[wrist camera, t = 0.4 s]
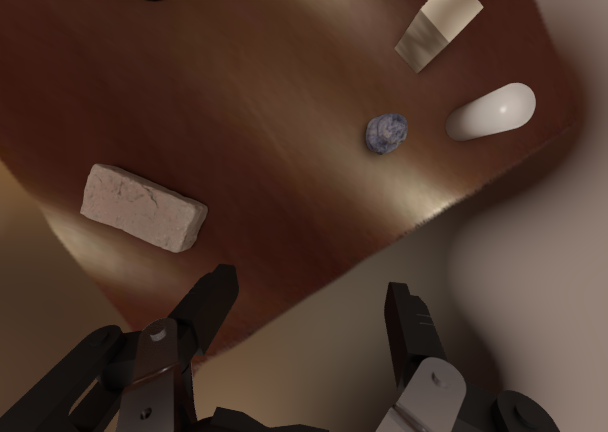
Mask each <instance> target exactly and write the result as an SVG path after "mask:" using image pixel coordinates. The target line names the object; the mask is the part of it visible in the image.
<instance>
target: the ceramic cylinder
mask: <svg viewBox="0 0 608 432" xmlns="http://www.w3.org/2000/svg"><path fill="white" fill-rule="evenodd" d="M534 109H535V96H534V93H533V92H532V90H531V89H530V88H529V87H528V86H526V85H524V84H521V83H512V84H509V85H506V86H504V87H502V88H500V89H498V90H496V91H494V92H492V93H489V94H487V95H485V96H483V97H481V98H479V99H477V100H475V101H473V102H470V103H468V104H466V105H464V106H462V107H460V108H458V109H456V110H454V111H453V112H452V113H451V114H450V115H449V116H448V118H447V120H446V132H447V134H448V136H449V137H450V138H451V139H453V140H455V141H466V140H470V139H474V138H478V137H482V136H486V135H490V134H494V133H498V132H502V131H506V130H510V129H514V128H518V127H520V126H522V125H524V124H525V123H526V122H527V121H528V120H529V119H530V118H531V116H532V114H533V112H534Z"/></svg>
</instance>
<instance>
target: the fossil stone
mask: <svg viewBox="0 0 608 432" xmlns="http://www.w3.org/2000/svg"><path fill="white" fill-rule="evenodd" d="M367 127H368V128H367V130H366V137H365V138H366V144H367V146H368V148H369V149H370V150H371V151H375V152H377V151H378V154H379V155H382V154H383V153H389V152H391V151H393V150H394V149H396V148H397V147H398V146H399V145H400V143H402V142H403V140H405V138H406V135H407V127H408V126H407V121H406V119H405V118H404V116H402V115H399V114H397V113H390V114H387V113H386V114H385V115H382V116H377V117H375V118H373V119H372V120H371V121H370V122H369V124H368V126H367Z"/></svg>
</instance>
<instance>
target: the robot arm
mask: <svg viewBox="0 0 608 432" xmlns="http://www.w3.org/2000/svg"><path fill="white" fill-rule="evenodd" d="M238 293H239V285H238V279H237V273H236V268H235V266H234V265H226V264H219V265H218V266H217V267H216V269H215V270H214V271H213V272H212V273H210V272H209V273H208V274H206V275H205V276H203V277H202V278H200V279H199V280H198V282H197V283H196V284H195V285H194V287H192V289H191V290H190V291H189V293H188V294H187V295H186V296H185V297H184V298H183V299H182V300H181V302H180V303H179V304H178V305H177V306H176V307H175V309H174V310H173V311H172V312H171V313H170V315H169V316H168V317H167V318H162V319H158V320H156V321H154V322H152V323H151V324H149V325H148V326H147V327H145V328H144V330H142V331H135V332H129V333H123V332H122V331H121V329H120V327H119V326H116V325H108V326H105V327H102V328H99V329H97V330H95V331H94V332H92V333H91V334H89V335H88V336H87V337H85V338H84V339H83V340H82V341H81V342H80V343H79V344H78V345H77V346H76V347H75V348H74V349H73V350H72V351H70V353H68V354H67V355H66V356H65V357H64V358H63V359H62V360H61V361H60V362H59V363H58V364H57V365H56V366H55V367H54V368H52V369H51V370H50V371H49V372H48V373H47V374H46V375H45V376H44V377H43V378H42V379H41V380H40V381H39V382H38V383H37V384H36V385H34V386H33V387H32V388H31V389H30V390H29V391H28V392H27V393H26V394H25V395H24V396H23V397H22V398H21V399H20V400H19V401H18V402H16V403H15V404H14V405H13V406H12V407H11V408H10V409H9V410H8V411H7V412H6V413H5V414H4V415H3V416H2V417H1V418H0V432H104V430H105V429H106V427H107V426H108V424H109V423H110V422H111V420H112V419H113V417H114V416H115V414H116V413H117V412H118V410H119V409H120V410H119V416H118V422H117V428H116V432H329V430H325V429H320V428H316V427H311V426H306V425H301V424H298V425H289V426H281V427H273V428H269V427H266V426H264V425H263V424H261V423H260V422H258V421H256V420H255V419H253V418H251V417H250V416H248V415H247V414H245V413H243V412H239V411H235V410H230V409H225V408H221V407H217V408H216V410H215V412H214V415H213V416H212V417H208V418H204V419H201V420H199V421H198V420H197V415H196V410H195V404H194V392H193V378H192V365H191V360H192V358H193V356H194V355H195V354H196V355H201V356H204V355H205V353H206V351H207V349H208V348H209V346H210V344H211V342H212V341H213V339H214V337H215V335H216V334H217V332H218V330H219V328H220V327H221V325H222V323H223V321H224V320H225V318H226V316H227V314H228V313H229V311H230V309H231V308H232V306H233V304H234V302H235V301H236V299H237V296H238ZM384 308H385V309H384V316H385V323H386V329H387V334H388V340H389V346H390V351H391V358H392V364H393V369H394V376H395V381H396V387H397V391H402V392H403V394H402V395H401V397H400V399H399V400H398V402H397V403H396V404H395V405H393V406H392V407H391V408H390V410H389V411H388V413H387V414H386V416H385V418H384V419H383V421H382V422H381V424H380V426H379V427H378V429H377V430H376V432H560V431H559V429H558V427H557V426H556V424H555V422H554V421H553V419H552V418H551V417H550V416H549V414H548V413H547V412H546V411H545V410H544V409H543V408H542V407H541V406H540V405H539V404H537V403H536V402H535V401H533V400H532V399H530V398H529V397H527V396H525V395H523V394H521V393H519V392H515V391H510V390H506V391H502V392H501V393H500V394H499V395H498V396H497V395H495V394H492V393H490V392H488V391H486V390H484V389H481V388H479V387H477V386H475V385H473V384H471V383H469V382H467V381H466V380H464V379H463V377H462V376H461V374H460V373H459V372H458V371H457V369H456V368H454V367H453V366H452V365H451V364H450V363H449V362H448V360H447V357H446V355H445V352H444V349H443V347H442V345H441V342H440V339H439V336H438V334H437V332H436V329H435V326H434V324H433V321H432V319H431V317H430V313H429V311H428V308H427V306H426V305H425V303H424V302H423V301H422V300H421V299H420V298H419V296H413V295H410V292H409V289H408V286H407V284H405V283H396V282H389V285H388V290H387V295H386V300H385V307H384ZM95 378H96V379H97V380H98V382H97V383H96V384H95V385H94V387H93V388H92V389H91V390H90V391H89V393H88V394H87V395H86V396H85V397H84V399H83V400H82V401H81V402H80V403H79V404H78V406H77V407H76V408H75V409H74V410H73V411H72V413H71V414H70V415H69V411H70V409H71V407H72V406H73V404H74V403H75V401H76V400H77V399H78V398H79V397H80V396H81V394H82V393H83V392H84V391H85V390H86V389H87V388H88V386H89V385H90V384H91V383H92V382H93V380H95ZM68 415H69V416H68Z"/></svg>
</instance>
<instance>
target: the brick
mask: <svg viewBox="0 0 608 432" xmlns="http://www.w3.org/2000/svg"><path fill="white" fill-rule="evenodd" d="M207 212H208V208H207V206H205V205H204V204H202V203H200V202H198V201H196V200H193V199H191V198H187V197H184V196H182V195H180V194H179V193H177V192H175V191H171V190H168V189H167V188H165V187H163V186H160V185H158V184H156V183H153V182H151V181H149V180H147V179H145V178H142V177H140V176H137V175H135V174H133V173H130V172H127V171H125V170H123V169H121V168H119V167H115V166H110V165H104V164H95V165H94V166H93V167H92V169H91V172H90V175H89V176H88V180H87V184H86V187H85V191H84V199H83V205H82V208H81V212H80V213H81V214H83V215H85V216H86V217H87V218H90V219H92V220H95V221H98V222H101V223H105V224H108V225H111V226H114V227H116V228H120V229H123V230H124V231H125V232H128V233H130V234H132V235H134V236H136V237H138V238H141V239H143V240H145V241H147V242H149V243H151V244H154V245H156V246H161V248H163V249H166V250H170V251H172V252H181V251H184V250H187V249H189V248H191V247H192V245H193V244H194V242H195V241H196V239H197V234H198V231H199V229H200V226H201V225H202V223H203V221H204V220H205V218H206V214H207Z"/></svg>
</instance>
